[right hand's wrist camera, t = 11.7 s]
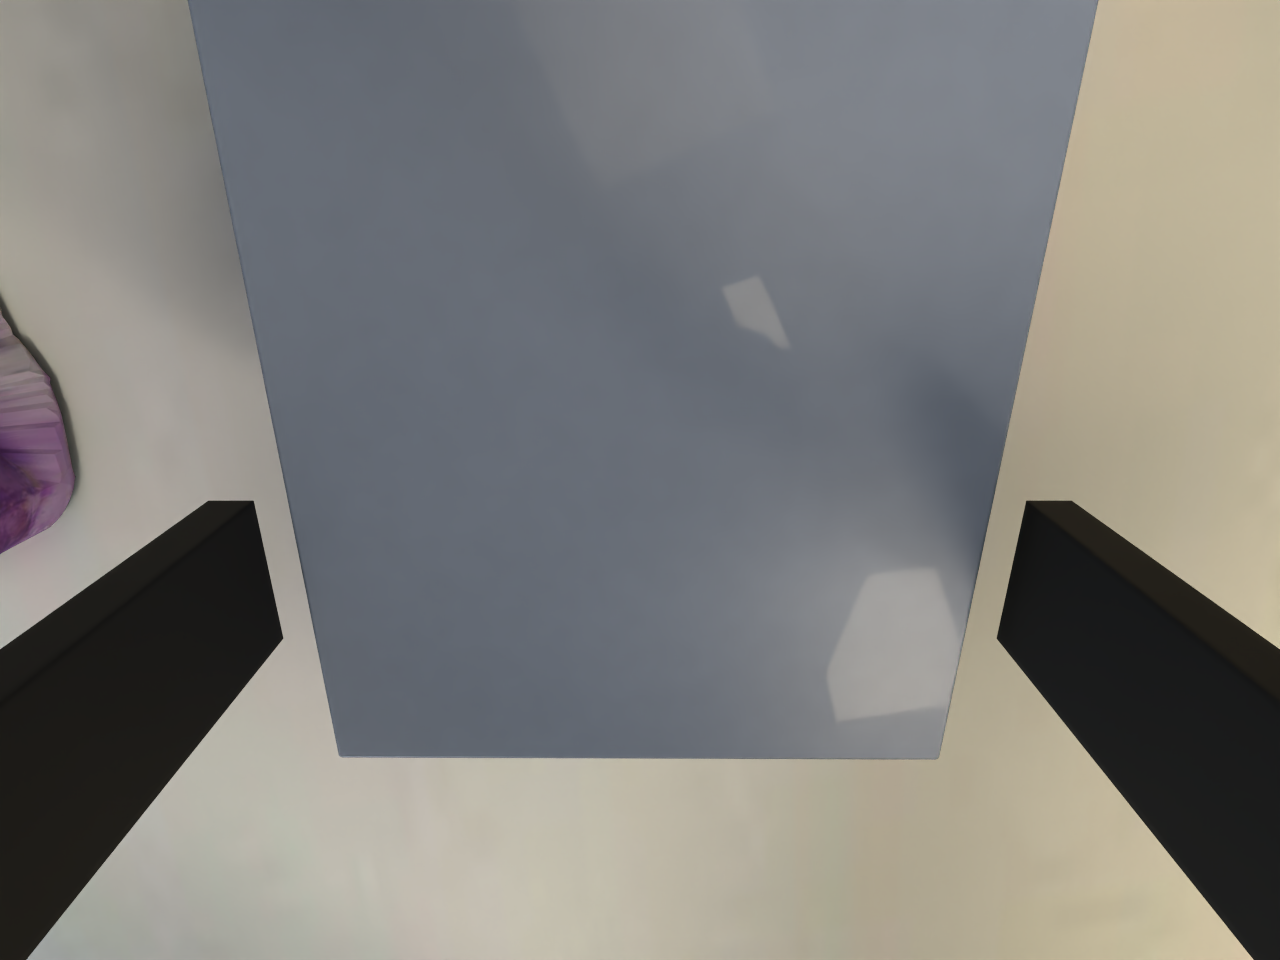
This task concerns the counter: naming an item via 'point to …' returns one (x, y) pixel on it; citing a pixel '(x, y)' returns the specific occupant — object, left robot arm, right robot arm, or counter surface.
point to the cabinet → (641, 353)
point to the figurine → (29, 446)
